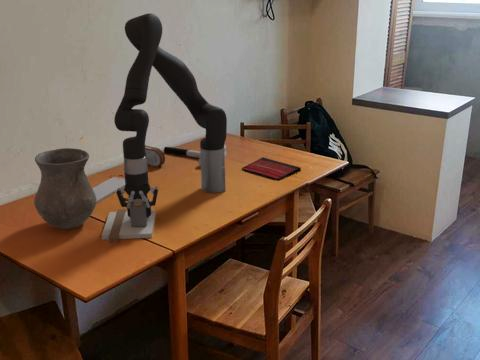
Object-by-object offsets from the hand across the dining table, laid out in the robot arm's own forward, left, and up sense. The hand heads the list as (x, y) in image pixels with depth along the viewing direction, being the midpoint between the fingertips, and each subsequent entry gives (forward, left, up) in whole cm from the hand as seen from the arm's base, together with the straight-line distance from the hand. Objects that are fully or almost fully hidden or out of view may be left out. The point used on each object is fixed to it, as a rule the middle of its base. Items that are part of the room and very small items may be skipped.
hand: (139, 216), depth 184 cm
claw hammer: (-18, -73, -4) cm, 75 cm away
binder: (-51, -50, -4) cm, 71 cm away
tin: (+1, -62, -4) cm, 62 cm away
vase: (+24, -3, -4) cm, 25 cm away
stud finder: (0, 0, -1) cm, 1 cm away
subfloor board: (+3, 0, -3) cm, 5 cm away
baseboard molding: (+19, -31, -4) cm, 37 cm away
